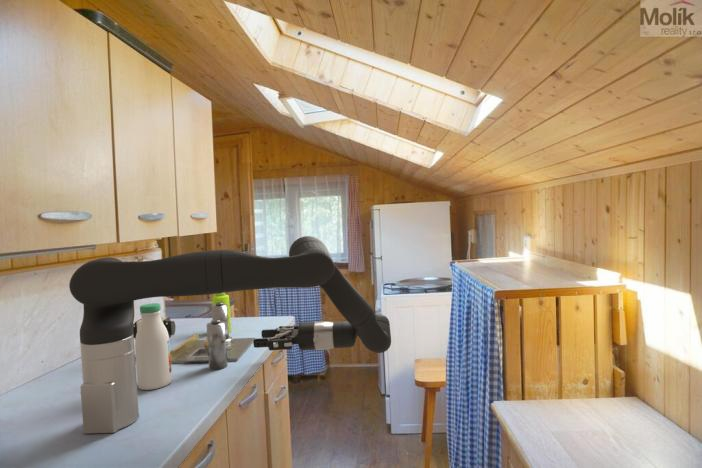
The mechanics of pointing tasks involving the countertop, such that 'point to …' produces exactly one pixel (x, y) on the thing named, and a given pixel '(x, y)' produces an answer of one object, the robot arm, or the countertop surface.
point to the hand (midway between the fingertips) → (257, 338)
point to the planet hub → (217, 344)
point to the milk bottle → (152, 350)
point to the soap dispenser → (225, 299)
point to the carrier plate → (230, 347)
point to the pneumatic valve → (166, 321)
